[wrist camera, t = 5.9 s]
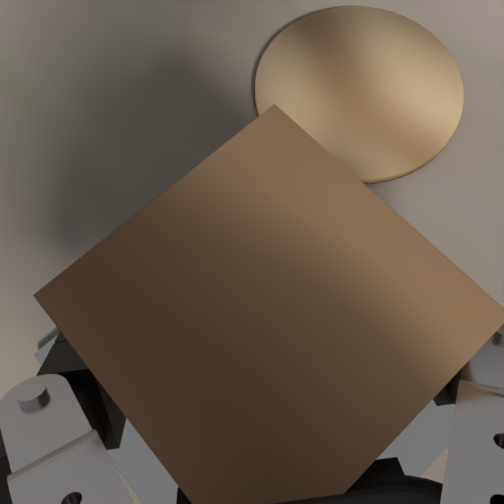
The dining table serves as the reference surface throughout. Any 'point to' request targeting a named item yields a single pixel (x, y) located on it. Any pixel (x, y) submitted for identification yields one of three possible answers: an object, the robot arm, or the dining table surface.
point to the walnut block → (269, 320)
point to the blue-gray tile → (403, 447)
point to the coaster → (364, 88)
